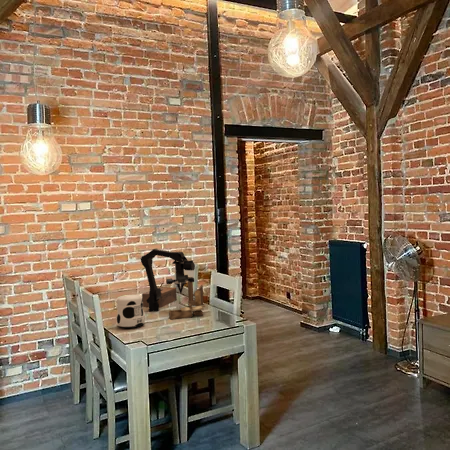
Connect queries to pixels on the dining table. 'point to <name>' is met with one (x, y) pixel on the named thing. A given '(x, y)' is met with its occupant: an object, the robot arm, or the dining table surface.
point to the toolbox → (183, 314)
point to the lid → (192, 308)
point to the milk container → (130, 311)
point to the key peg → (197, 298)
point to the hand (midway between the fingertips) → (180, 293)
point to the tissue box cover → (162, 296)
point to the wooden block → (190, 294)
